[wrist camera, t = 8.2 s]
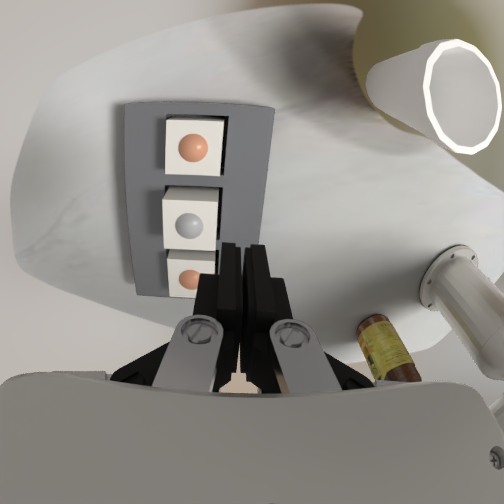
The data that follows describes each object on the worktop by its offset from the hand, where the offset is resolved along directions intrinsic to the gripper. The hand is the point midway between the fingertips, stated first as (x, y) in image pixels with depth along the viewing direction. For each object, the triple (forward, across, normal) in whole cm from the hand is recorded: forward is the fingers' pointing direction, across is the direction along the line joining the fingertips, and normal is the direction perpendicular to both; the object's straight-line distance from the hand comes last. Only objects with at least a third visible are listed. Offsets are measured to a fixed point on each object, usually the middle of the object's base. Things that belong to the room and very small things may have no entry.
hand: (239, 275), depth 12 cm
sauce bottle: (+22, -24, +24) cm, 40 cm away
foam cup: (+22, -16, -11) cm, 29 cm away
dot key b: (+20, +4, -2) cm, 21 cm away
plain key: (+19, +4, +5) cm, 20 cm away
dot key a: (+20, +4, +12) cm, 24 cm away
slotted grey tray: (+21, +4, +5) cm, 22 cm away
